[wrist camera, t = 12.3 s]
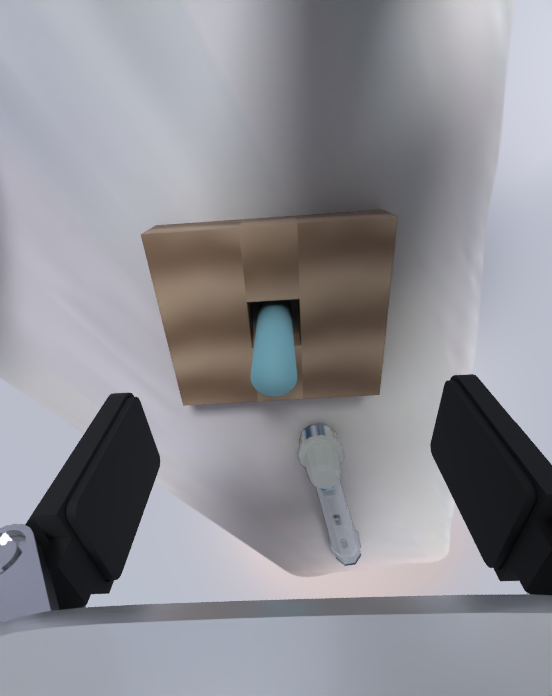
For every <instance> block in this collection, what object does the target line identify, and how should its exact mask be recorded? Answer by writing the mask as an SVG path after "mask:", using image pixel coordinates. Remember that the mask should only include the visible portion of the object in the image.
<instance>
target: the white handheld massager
mask: <svg viewBox="0 0 552 696" xmlns="http://www.w3.org/2000/svg"><path fill="white" fill-rule="evenodd" d="M299 440H300V448H299V450H298V458H299V460H300V463H301V465H302V466H303V467H305V468H306V469H307V472H308V476H309V479H310V481H311V483H312V484H313V485H314V486H316V488H317V492H318V496H319V499H320V503H321V507H322V510H323V514H324V518H325V521H326V525H327V529H328V532H329V542H330V548H331V551H332V552H333V553H335V556H336V559H337V560H339V561H340V562H341V563H342V564H344V565H345V566H347V565H353V564H356V562H357V561H358V559H359V558H360V556H361V553H360V547H361V543H360V539H359V534H358V532H357V531H356V530H355V529H354V526H353V522H352V519H351V516H350V513H349V509H348V506H347V503H346V500H345V496H344V493H343V490H342V487H341V484H340V480H339V478H340V467H339V466H340V464H341V462H342V460H343V459H344V454H343V450H342V445H341V443H339V442H338V440H337V436H336V432H333V431H332V430H331V429H330V428H329V426H326V425H322V424H316V425H311V426H309V427H307V428H306V429H305V430H303V431H302V436H301V438H300V439H299Z"/></svg>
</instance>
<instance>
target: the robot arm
mask: <svg viewBox="0 0 552 696" xmlns="http://www.w3.org/2000/svg"><path fill="white" fill-rule="evenodd" d="M431 453H432V456H433V458H434V460H435V462H436V464H437V466H438V468H439V470H440V472H441V474H442V476H443V478H444V480H445V482H446V484H447V486H448V488H449V490H450V493H451V495H452V497H453V499H454V501H455V503H456V505H457V507H458V509H459V511H460V513H461V515H462V517H463V519H464V521H465V523H466V525H467V527H468V529H469V531H470V533H471V535H472V537H473V539H474V542H475V544H476V545H477V548H478V550H479V552H480V554H481V556H482V558H483V560H484V562H485V563H486V565H487V566H488V567H490V568H494V570H495V572H496V574H497V576H498V578H499V580H500V581H520V583H521V584H522V586H523V588H524V590H525V591H526V592H527V595H443V596H402V597H361V598H329V599H296V600H295V599H293V600H263V601H262V600H260V601H230V602H201V603H175V604H174V603H173V604H145V605H125V606H106V607H88V608H86V606H85V605H86V604H87V602H88V600H89V597H90V595H91V594H105V593H109V592H110V590H111V587H112V584H113V581H114V580H117V579H118V578H119V577H120V576H121V574H122V571H123V568H124V566H125V563H126V560H127V557H128V554H129V551H130V549H131V546H132V543H133V540H134V537H135V535H136V532H137V529H138V526H139V523H140V521H141V518H142V515H143V512H144V509H145V507H146V504H147V501H148V498H149V495H150V492H151V490H152V487H153V484H154V481H155V478H156V476H157V473H158V470H159V467H160V456H159V453H158V450H157V447H156V444H155V442H154V439H153V436H152V433H151V430H150V428H149V425H148V422H147V419H146V416H145V413H144V411H143V408H142V405H141V402H140V400H139V398H138V397H134V396H133V394H132V393H115V394H111V395H110V396H109V397H108V398H107V400H106V401H105V403H104V404H103V406H102V407H101V409H100V410H99V412H98V414H97V415H96V417H95V418H94V420H93V421H92V423H91V424H90V426H89V427H88V429H87V431H86V432H85V434H84V435H83V437H82V438H81V440H80V441H79V443H78V444H77V446H76V447H75V449H74V451H73V452H72V454H71V455H70V457H69V458H68V460H67V461H66V463H65V465H64V466H63V468H62V469H61V471H60V472H59V474H58V475H57V477H56V478H55V480H54V481H53V483H52V484H51V486H50V488H49V489H48V491H47V492H46V494H45V495H44V497H43V498H42V500H41V502H40V503H39V504H38V506H37V507H36V509H35V511H34V512H33V514H32V515H31V517H30V518H29V520H28V521H27V523H26V525H24V524H13V525H9V526H5V527H2V528H0V696H552V465H551V464H550V462H549V461H548V460H547V459H546V458H545V457H544V455H543V454H542V453H541V452H540V450H539V449H538V448H537V447H536V446H535V444H534V443H533V442H532V441H531V440H530V439H529V437H528V436H527V435H526V434H525V433H524V431H523V430H522V429H521V428H520V427H519V425H518V424H517V423H516V422H515V421H514V420H513V419H512V418H511V417H510V415H509V414H508V413H507V412H506V411H505V409H504V408H503V407H502V406H501V405H500V404H499V402H498V401H497V400H496V399H495V397H494V396H493V395H492V394H491V393H490V392H489V390H488V389H487V388H486V387H485V386H484V384H483V383H482V382H481V381H480V380H479V378H478V377H476V375H473V374H472V375H454V376H452V377H451V379H450V381H446V382H445V385H444V389H443V393H442V397H441V402H440V406H439V410H438V414H437V419H436V423H435V427H434V431H433V436H432V440H431Z"/></svg>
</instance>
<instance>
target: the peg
mask: <svg viewBox="0 0 552 696" xmlns="http://www.w3.org/2000/svg"><path fill="white" fill-rule="evenodd" d="M296 382H297V369H296V358H295V347H294V337H293V326H292V315H291V306H290V303H289V301H288V300H274V301H260V304H259V308H258V316H257V325H256V334H255V342H254V351H253V360H252V368H251V383H252V385H253V387H254V388H255V389H256V390H257V391H258V392H260V393H261V394H264V395H266V396H272V397H276V396H282V395H284V394H287V393H288V392H290V391H291V390H292V389H293V388H294V386H295V385H296Z"/></svg>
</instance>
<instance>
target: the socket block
mask: <svg viewBox="0 0 552 696" xmlns="http://www.w3.org/2000/svg"><path fill="white" fill-rule="evenodd" d="M396 224H397V216H395V215H393V214H391V213H389V212H387V211H385V210H372V211H357V212H343V213H329V214H314V215H300V216H286V217H271V218H257V219H243V220H229V221H214V222H200V223H186V224H171V225H157V226H154V227H153V228H151V229H149V230H148V231H146V232H144V233H143V234H141V237H142V241H143V245H144V249H145V253H146V257H147V261H148V265H149V269H150V274H151V278H152V282H153V286H154V290H155V294H156V298H157V302H158V306H159V310H160V314H161V318H162V322H163V326H164V330H165V334H166V338H167V342H168V346H169V350H170V354H171V358H172V362H173V366H174V370H175V374H176V378H177V382H178V386H179V390H180V394H181V398H182V402H183V405H201V404H219V403H237V402H256V401H274V400H292V399H310V398H329V397H347V396H365V395H379V394H380V384H381V374H382V364H383V354H384V344H385V334H386V324H387V314H388V304H389V294H390V284H391V274H392V264H393V254H394V244H395V234H396ZM274 300H288V301H289V303H290V306H291V315H292V326H293V337H294V347H295V358H296V369H297V382H296V385H295V386H294V388H293V389H292V390H291V391H290V392H288V393H287V394H284V395H282V396H276V397H272V396H266V395H264V394H261V393H260V392H258V391H257V390H256V389H255V388H254V387H253V385H252V383H251V368H252V360H253V351H254V342H255V334H256V325H257V316H258V308H259V304H260V301H274Z"/></svg>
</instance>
